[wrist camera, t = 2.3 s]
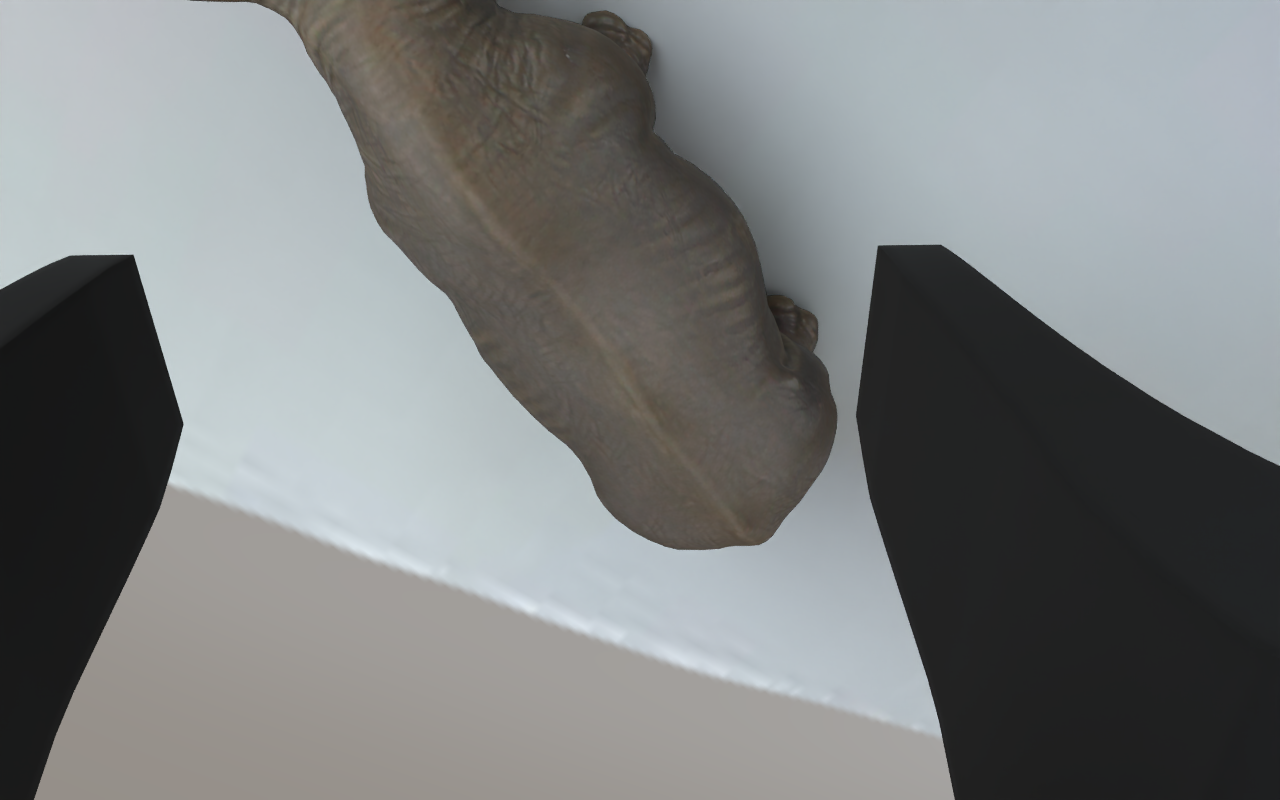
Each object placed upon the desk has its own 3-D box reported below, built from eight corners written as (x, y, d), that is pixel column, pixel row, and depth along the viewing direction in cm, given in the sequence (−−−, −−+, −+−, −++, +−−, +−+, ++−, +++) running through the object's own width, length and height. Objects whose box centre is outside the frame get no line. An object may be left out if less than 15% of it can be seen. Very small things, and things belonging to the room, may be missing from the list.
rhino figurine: (345, -467, 14) (202, -473, 9) (859, 328, 21) (931, 562, 16) (109, -256, 16) (-124, -164, 11) (666, 429, 22) (680, 674, 18)
